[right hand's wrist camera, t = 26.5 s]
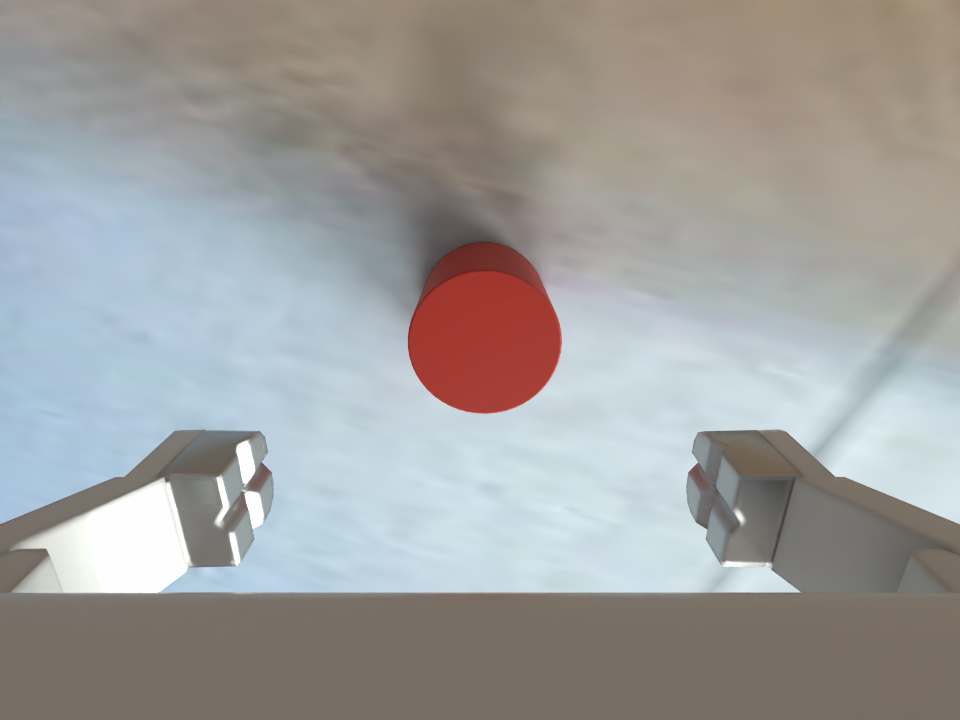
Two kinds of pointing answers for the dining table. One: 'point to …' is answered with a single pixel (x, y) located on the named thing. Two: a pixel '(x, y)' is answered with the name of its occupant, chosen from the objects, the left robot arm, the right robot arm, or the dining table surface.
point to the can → (484, 330)
